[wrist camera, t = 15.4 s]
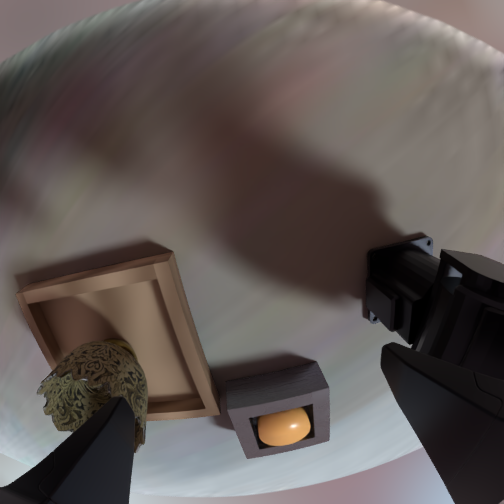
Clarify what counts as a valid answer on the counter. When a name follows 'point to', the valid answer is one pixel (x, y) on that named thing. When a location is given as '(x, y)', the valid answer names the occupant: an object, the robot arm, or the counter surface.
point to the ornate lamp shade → (96, 385)
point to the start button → (283, 426)
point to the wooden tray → (129, 328)
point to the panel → (279, 406)
